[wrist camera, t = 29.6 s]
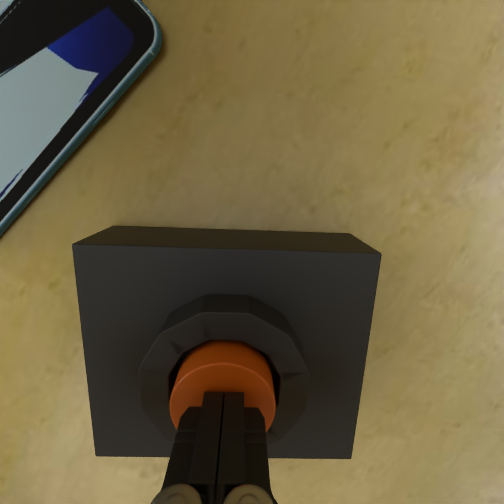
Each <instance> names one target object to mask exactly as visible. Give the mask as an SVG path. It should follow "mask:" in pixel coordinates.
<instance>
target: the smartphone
mask: <svg viewBox="0 0 504 504" xmlns="http://www.w3.org/2000/svg"><path fill="white" fill-rule="evenodd" d="M161 46H162V32H161V28H160V26H159V24H158V22H157V20H156V19H155V17H154V16H153V14H152V13H151V12H150V11H149V9H148V8H147V7H146V6H145V5H144V4H143V3H142V2H141V0H0V236H1V235H2V234H3V232H4V231H5V230H6V229H7V228H8V227H9V226H10V224H11V223H12V222H13V221H14V220H15V219H16V217H17V216H18V215H19V214H20V213H21V212H22V211H23V209H24V208H25V207H26V206H27V205H28V204H29V202H30V201H31V200H32V199H33V198H34V197H35V196H36V194H37V193H38V192H39V191H40V190H41V189H42V187H43V186H44V185H45V184H46V183H47V182H48V181H49V179H50V178H51V177H52V176H53V175H54V174H55V172H56V171H57V170H58V169H59V168H60V167H61V166H62V164H63V163H64V162H65V161H66V160H67V159H68V157H69V156H70V155H71V154H72V153H73V152H74V151H75V149H76V148H77V147H78V146H79V145H80V144H81V142H82V141H83V140H84V139H85V138H86V137H87V136H88V134H89V133H90V132H91V131H92V130H93V129H94V127H95V126H96V125H97V124H98V123H99V122H100V121H101V119H102V118H103V117H104V116H105V115H106V114H107V112H108V111H109V110H110V109H111V108H112V107H113V106H114V104H115V103H116V102H117V101H118V100H119V99H120V97H121V96H122V95H123V94H124V93H125V92H126V91H127V89H128V88H129V87H130V86H131V85H132V84H133V82H134V81H135V80H136V79H137V78H138V77H139V76H140V74H141V73H142V72H143V71H144V70H145V69H146V67H147V66H148V65H149V64H150V63H151V62H152V61H153V59H154V58H155V57H156V56H157V55H158V53H159V51H160V49H161Z"/></svg>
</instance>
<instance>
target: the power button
mask: <svg viewBox="0 0 504 504" xmlns="http://www.w3.org/2000/svg"><path fill="white" fill-rule="evenodd" d="M205 391H208V392H224V400H225V392H244V407H258V408H259V409H260V411H261V413H262V415H263V416H264V418H265V427H266V432H267V431H268V429H269V428H270V426H271V424H272V422H273V419H274V416H275V410H276V403H275V395H274V388H273V380H272V373H271V369H270V366H269V364H268V362H267V361H266V359H265V358H264V356H263V355H262V354H261V353H260V352H259V351H258V350H256V349H255V348H254V347H252V346H251V345H249V344H246V343H244V342H241V341H238V340H212V341H208V342H206V343H203V344H201V345H200V346H198V347H196V348H195V349H193V350H192V351H191V352H190V353H189V354H188V355H187V356H186V358H185V359H184V360H183V362H182V364H181V366H180V369H179V372H178V375H177V378H176V381H175V384H174V388H173V391H172V394H171V397H170V405H169V408H170V415H171V419H172V421H173V424H174V426H175V427H176V429H177V428H178V424H179V421H180V417H181V416H182V415H183V413H184V412H185V411H186V409H187V408H188V407H189V406H197V407H202V401H203V396H204V392H205Z"/></svg>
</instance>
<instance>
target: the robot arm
mask: <svg viewBox="0 0 504 504" xmlns="http://www.w3.org/2000/svg"><path fill="white" fill-rule="evenodd" d="M151 504H278V503H277V502H276V500H275V499H274V497H273V495H272V492H271V488H270V478H269V465H268V453H267V440H266V427H265V418H264V416H263V415H262V413H261V411H260V409H259V408H258V407H244V392H225V400H224V392H208V391H205V392H204V396H203V401H202V407H197V406H189V407H188V408H187V409H186V411H185V412H184V413H183V415H182V416H181V417H180V421H179V424H178V428H177V433H176V436H175V440H174V444H173V448H172V452H171V456H170V459H169V463H168V467H167V471H166V475H165V479H164V483H163V486H162V489H161V491H160V492H159V493H158V494H157V495H156V497H155V498H154V499H153V501H152V503H151Z"/></svg>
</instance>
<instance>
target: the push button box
mask: <svg viewBox="0 0 504 504" xmlns="http://www.w3.org/2000/svg"><path fill="white" fill-rule="evenodd" d="M72 249H73V258H74V267H75V276H76V285H77V294H78V303H79V312H80V321H81V330H82V339H83V348H84V356H85V365H86V374H87V383H88V392H89V401H90V410H91V419H92V428H93V437H94V446H95V455H96V456H113V457H170V456H171V452H172V448H173V444H174V440H175V436H176V433H177V429H176V427H175V426H174V424H173V421H172V419H171V415H170V408H169V405H170V397H171V394H172V391H173V388H174V384H175V381H176V378H177V375H178V372H179V369H180V366H181V364H182V362H183V360H184V359H185V358H186V356H187V355H188V354H189V353H190V352H191V351H192V350H193V349H195V348H196V347H198V346H200V345H201V344H203V343H206V342H208V341H212V340H238V341H241V342H244V343H246V344H249V345H251V346H252V347H254V348H255V349H256V350H258V351H259V352H260V353H261V354H262V355H263V356H264V358H265V359H266V361H267V362H268V364H269V366H270V369H271V373H272V380H273V388H274V395H275V403H276V410H275V416H274V419H273V422H272V424H271V426H270V428H269V429H268V431H267V432H266V440H267V453H268V458H304V459H351V457H352V450H353V443H354V436H355V430H356V423H357V416H358V409H359V403H360V396H361V389H362V383H363V376H364V369H365V362H366V356H367V349H368V342H369V335H370V329H371V322H372V315H373V309H374V302H375V295H376V288H377V282H378V275H379V268H380V261H381V253H380V252H378V251H377V250H375V249H373V248H372V247H370V246H369V245H367V244H366V243H364V242H362V241H361V240H359V239H358V238H356V237H355V236H353V235H351V234H347V233H317V232H286V231H256V230H225V229H195V228H165V227H134V226H111V227H109V228H107V229H105V230H102V231H100V232H98V233H96V234H93V235H91V236H89V237H87V238H84V239H82V240H80V241H78V242H76V243H73V244H72Z"/></svg>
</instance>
